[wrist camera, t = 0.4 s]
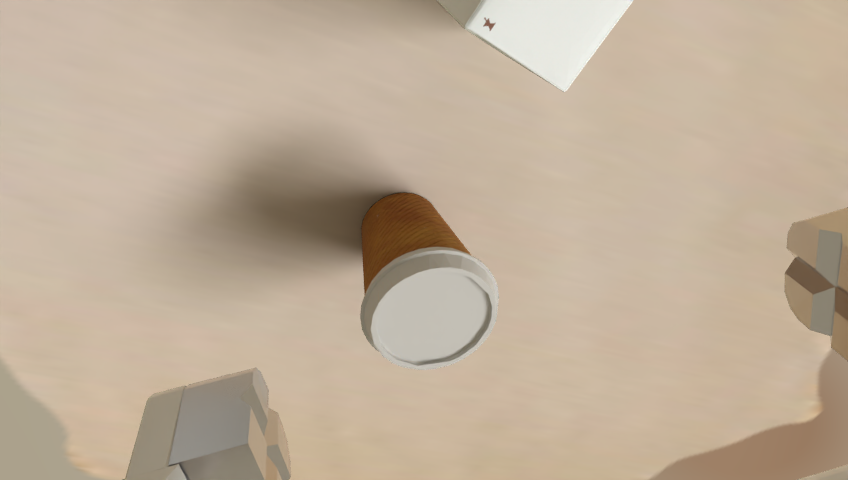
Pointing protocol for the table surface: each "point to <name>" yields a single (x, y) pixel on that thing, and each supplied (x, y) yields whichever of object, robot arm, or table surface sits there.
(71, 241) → the table surface
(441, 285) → the disposable coffee cup
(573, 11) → the supplement box
